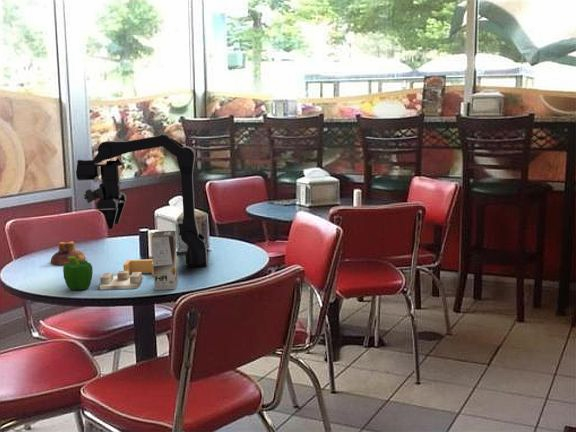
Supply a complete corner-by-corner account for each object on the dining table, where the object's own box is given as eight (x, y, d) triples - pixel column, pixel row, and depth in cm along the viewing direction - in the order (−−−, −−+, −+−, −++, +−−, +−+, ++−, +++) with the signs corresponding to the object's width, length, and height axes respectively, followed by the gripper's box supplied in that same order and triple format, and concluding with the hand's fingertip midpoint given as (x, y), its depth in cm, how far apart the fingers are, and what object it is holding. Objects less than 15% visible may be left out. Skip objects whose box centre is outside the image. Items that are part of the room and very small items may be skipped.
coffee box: (176, 289, 209) (173, 236, 206) (154, 290, 208) (151, 236, 205) (178, 281, 218) (175, 230, 215) (157, 282, 217) (154, 230, 214)
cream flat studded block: (144, 278, 223) (143, 268, 222) (137, 288, 211) (137, 278, 210) (107, 279, 222) (107, 269, 222) (99, 289, 210) (98, 279, 210)
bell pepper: (96, 284, 216) (94, 252, 215) (89, 291, 208) (87, 258, 206) (69, 285, 216) (66, 253, 214) (61, 292, 208) (58, 259, 206)
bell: (44, 265, 244) (42, 244, 243) (62, 257, 255) (61, 237, 254) (74, 266, 241) (73, 245, 240) (92, 258, 253) (90, 238, 251)
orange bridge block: (158, 271, 232) (158, 259, 231) (155, 276, 225) (155, 263, 224) (127, 271, 231) (127, 259, 230) (124, 277, 225) (123, 264, 224)
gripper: (92, 177, 241) (95, 222, 244) (78, 183, 223) (82, 232, 225) (125, 176, 242) (128, 221, 244) (113, 182, 223) (117, 231, 226)
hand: (113, 226), depth 235 cm, fingers open, 9 cm apart
